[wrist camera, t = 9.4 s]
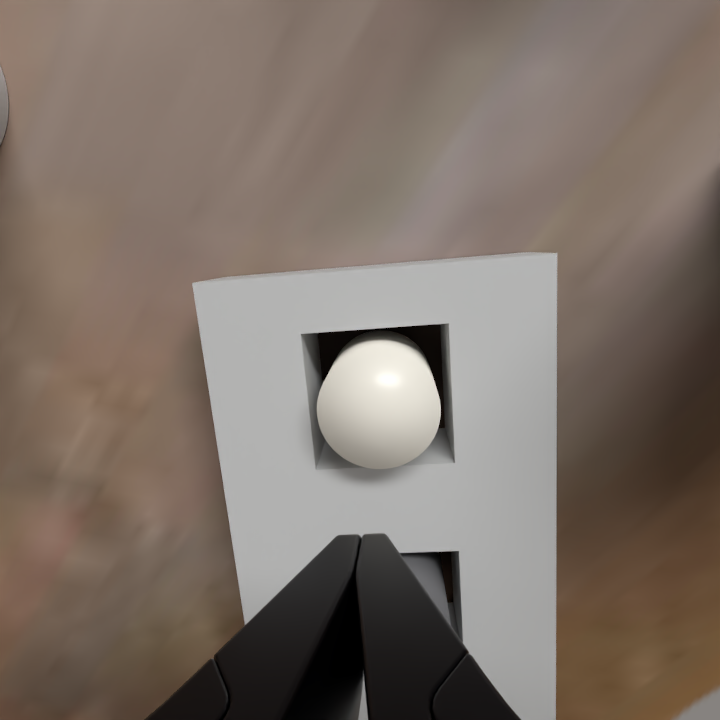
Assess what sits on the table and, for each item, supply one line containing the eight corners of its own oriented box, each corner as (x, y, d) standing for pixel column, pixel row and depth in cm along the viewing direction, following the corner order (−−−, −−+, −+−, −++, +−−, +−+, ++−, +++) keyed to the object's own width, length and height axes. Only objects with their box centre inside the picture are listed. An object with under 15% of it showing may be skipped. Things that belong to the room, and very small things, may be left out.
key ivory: (428, 326, 19) (437, 346, 15) (434, 424, 20) (443, 466, 16) (327, 333, 20) (310, 354, 16) (336, 429, 20) (322, 471, 17)
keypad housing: (527, 252, 19) (557, 253, 16) (533, 783, 25) (555, 868, 21) (226, 277, 20) (192, 283, 17) (296, 782, 26) (282, 863, 22)
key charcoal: (439, 523, 21) (449, 586, 17) (443, 605, 22) (454, 682, 18) (346, 527, 21) (335, 589, 18) (353, 607, 22) (345, 683, 18)
